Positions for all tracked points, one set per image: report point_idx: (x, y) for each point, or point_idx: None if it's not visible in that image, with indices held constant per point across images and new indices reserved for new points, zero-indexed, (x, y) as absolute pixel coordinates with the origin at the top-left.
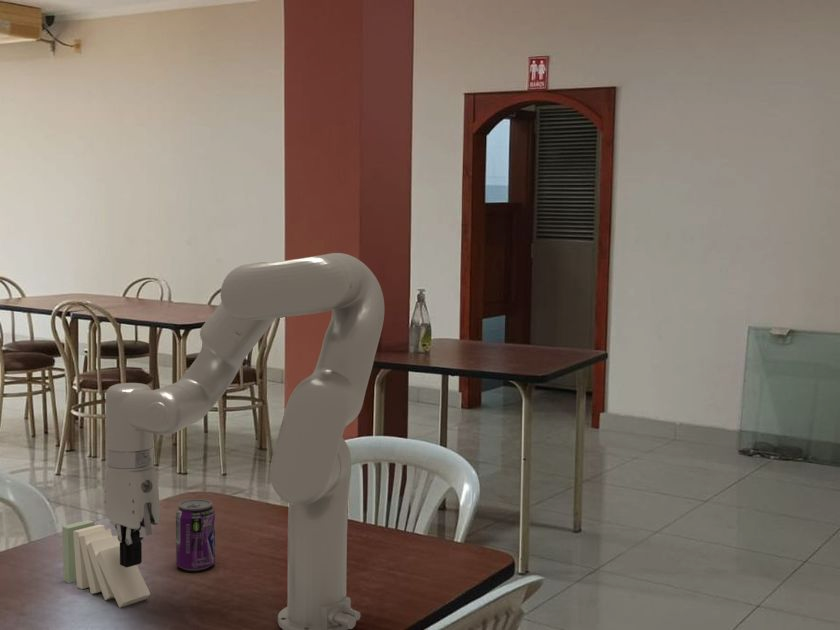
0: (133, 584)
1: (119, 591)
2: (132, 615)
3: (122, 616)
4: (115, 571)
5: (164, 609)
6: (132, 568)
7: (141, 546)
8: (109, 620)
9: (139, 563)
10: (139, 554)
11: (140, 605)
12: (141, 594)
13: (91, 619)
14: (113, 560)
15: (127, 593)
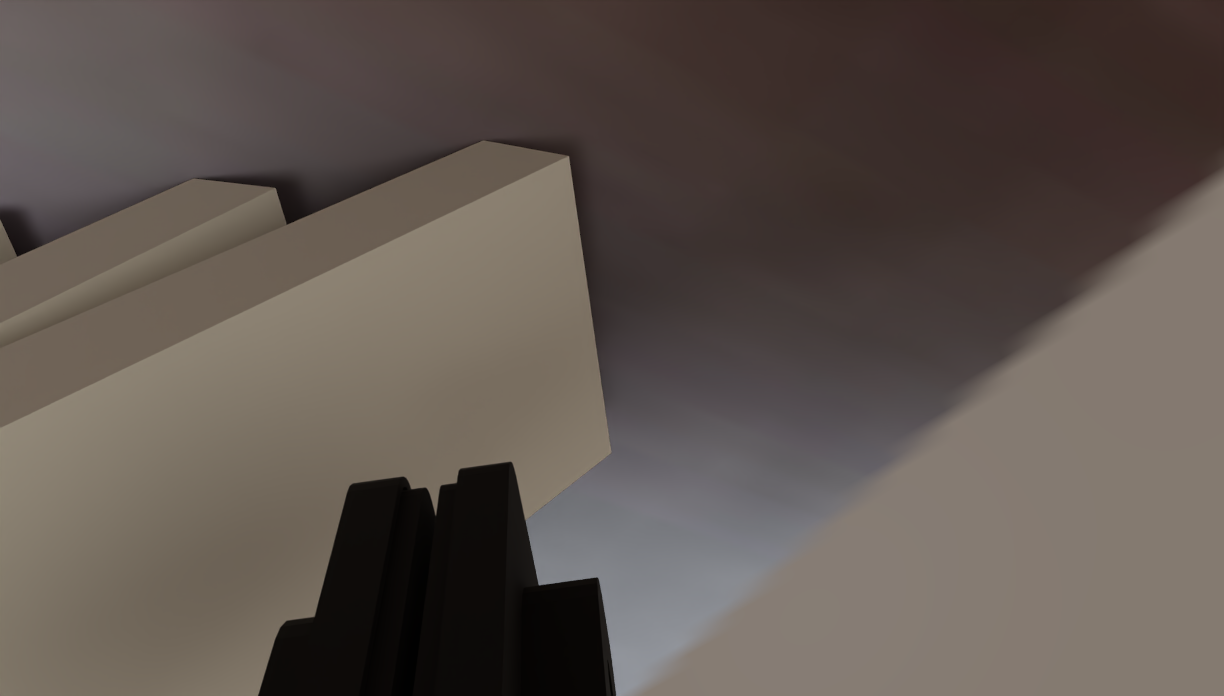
0: (464, 364)
1: (524, 514)
2: (772, 403)
3: (731, 469)
4: (309, 612)
5: (867, 117)
6: (263, 392)
7: (503, 676)
8: (732, 564)
9: (517, 485)
10: (603, 646)
11: (605, 257)
12: (564, 267)
13: (620, 643)
14: (143, 685)
15: (546, 426)
